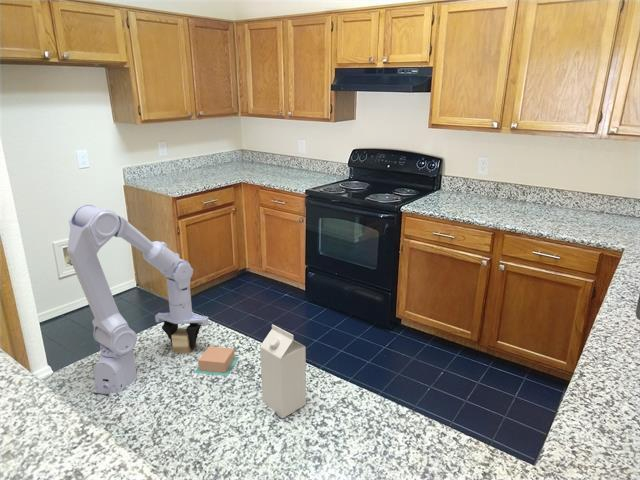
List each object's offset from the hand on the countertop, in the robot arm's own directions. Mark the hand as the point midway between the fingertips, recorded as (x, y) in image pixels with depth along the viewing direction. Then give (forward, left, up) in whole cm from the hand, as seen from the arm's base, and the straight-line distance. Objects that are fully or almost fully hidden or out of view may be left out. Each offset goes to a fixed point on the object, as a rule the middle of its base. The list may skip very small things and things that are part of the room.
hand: (184, 346), depth 125 cm
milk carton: (-18, -33, -2) cm, 38 cm away
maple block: (0, 0, -2) cm, 2 cm away
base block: (-6, -12, -1) cm, 13 cm away
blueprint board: (-6, -12, -2) cm, 14 cm away
